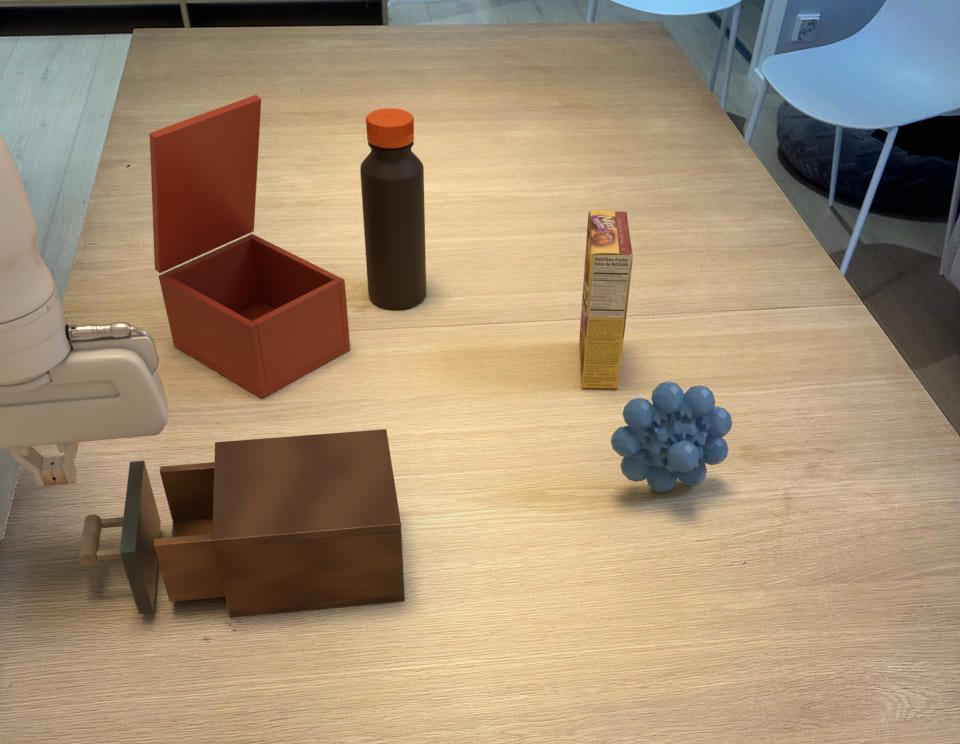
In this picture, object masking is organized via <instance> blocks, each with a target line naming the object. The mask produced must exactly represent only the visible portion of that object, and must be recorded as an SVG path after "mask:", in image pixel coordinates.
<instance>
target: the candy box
mask: <svg viewBox="0 0 960 744" xmlns="http://www.w3.org/2000/svg"><path fill="white" fill-rule="evenodd" d="M585 240H586V242H585V257H584V271H583V284H582V295H581V297H582V299H581V309H580V310H581V312H580V325H579V326H580V327H579V339H578V341H579V343H578V344H579V358H580V359H579V361H580V389H588V390H589V389H592V390H593V389H594V390H618V389H619V382H620V373H621V368H622V367H621V366H622V357H623V347H624V340H625V330H626V322H627V313H628V312H627V311H628V304H629V296H630V295H629V294H630V287H631V277H632V269H633V262H634V261H633V260H634V252H633V247H632V240H631V233H630V227H629V221H628V212H627V211H619V210H618V211H616V210H592V211H591V210H589V212H588V214H587V226H586V239H585Z"/></svg>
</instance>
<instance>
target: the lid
mask: <svg viewBox="0 0 960 744" xmlns="http://www.w3.org/2000/svg"><path fill="white" fill-rule="evenodd" d="M261 110H262V98H261V97H259V96H258V94H254V95H251V96H248V97H246V98H243V99H239V100H237V101H234V102H232V103H229V104H226V105H223V106H220V107H218V108H215V109H213V110H209V111H207V112H204V113H201V114H198V115H196V116H193V117H190V118H188V119H184V120H181V121H179V122H176V123H173V124H170V125H167V126H165V127H162V128H159V129H156V130H154V131H150V132H149V151H150V152H149V153H150V177H151V178H150V180H151V181H150V182H151V201H152V202H151V204H152V205H151V207H152V231H153V256H154V257H153V258H154V259H153V260H154V270H155V271H156V272H157V273H158V274H163V273H165V272H167V271H170V270H172V269H174V268H176V267H178V266H181V265H183V264H185V263H187V262H190V261H192V260H194V259H196V258H199V257H201V256H203V255H205V254H208V253H210V252H212V251H214V250H216V249H219V248H221V247H223V246H225V245H228V244H230V243H232V242H234V241H237V240H239V239H241V238H243V237H246V236H248V235H250V234H252V233H253V232H255V220H256V217H255V216H256V200H257V182H258V164H259V149H260V148H259V147H260V132H261V131H260V130H261V129H260V128H261V113H262V111H261Z"/></svg>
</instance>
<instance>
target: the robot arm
mask: <svg viewBox="0 0 960 744" xmlns="http://www.w3.org/2000/svg"><path fill="white" fill-rule="evenodd" d="M37 228H38V227H37V223H36V219H35V216H34V213H33V209H32V207H31V204H30V201H29V198H28V195H27V192H26V189H25V187H24V184H23V181H22V179H21V175H20V172H19V170H18V168H17V165H16V163H15V160H14V158H13V155H12V154H11V151H10V149H9V147H8V145H7V143H6V141H5V139H4V137H3V134H2V133H1V132H0V450H5V449H8V451H9V454H10V457H11V458H12V459H13V460H15V461H16V462H17V463H18V464H20V465H21V466H22V467H24V468H25V469H27V470H28V471H29V472H31V473H32V474H33V476H34V479H35V482H36V484H37V486H38V487H39V488H40V487H51V486H52V487H53V486H61V485H72V484H76V483H77V477H78V471H77V467H76V465H75V458H76V455H77V453H78V450H79V449H78V448H79V443H86V442H96V441H98V442H99V441H109V440H119V439H130V438H131V439H132V438H143V437H154V436H159V435H160V434H162V432H163V430H164V429H165V428H166V426H167V424H168V420H169V401H168V396H167V393H166V391H165V388H164V387H165V386H164V384H163V382H162V379H161V376H160V374H159V372H158V367H159V363H160V358H159V354H158V350H157V346H156V342H155V340H154V339H153V337H152V334H150V333H148V331H145V330H144V329H142V328H140V327H137V326H132V325H131V324H130V322H127V321H113V322H110V323H105V324H103V323H101V324H98V323H85V324H84V323H83V324H70V325H69V324H68V322H67V318H66V316H65V312H64V309H63V306H62V303H61V299H60V296H59V293H58V290H57V287H56V284H55V280H54V278H53V276H52V273H51V272H50V270H49V268H48V267H47V265H46V263H45V262H44V261H43V259H42V257H41V254H40V252H39V248H38V229H37ZM52 445H56V447H57V450H58V453H63V455H61V456H51V457H49V456H48V457H44V456H43V455H42V454H41V453H39V451H37V449H35V448H34V447H38V446H52Z"/></svg>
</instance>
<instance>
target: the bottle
mask: <svg viewBox="0 0 960 744" xmlns="http://www.w3.org/2000/svg"><path fill="white" fill-rule="evenodd" d="M365 125H366V126H365V127H366V140H367V145H368V147H369V148H370V153H368V155H367V156H366V157H365V158H364V159H363V161H362V162H361V163H360V170H359V174H360V188H361V203H362V218H363V219H362V220H363V231H364V234H363V236H364V247H365V249H364V250H365V263H366V277H367V279H366V280H367V294H368V297H369V299H370V301H371V302H372V303H374V304H376V305H377V306H378V307H380V308H381V307H382V308H384V309H390V310H405V309H411V308H413V307H416V306H417V305H419V304H420V303H421V302H423V301H424V300H425V298H426V296H427V262H426V260H427V259H426V258H427V256H426V218H425V217H426V216H425V215H426V214H425V176H424V175H425V172H424V163H423V162H422V161H421V159H420V158H419V157H418V156H417V155H416V154H415V153H414V152H413V151H412V148H413V146H414V144H415V143H414V140H415V118H414V115H413V114H412V113H411V112H409V111H407V110H405V109H401V108H395V107H385V108H380V109H375V110H373V111H370V112H369V113H368V114H367V115H366V116H365Z"/></svg>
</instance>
